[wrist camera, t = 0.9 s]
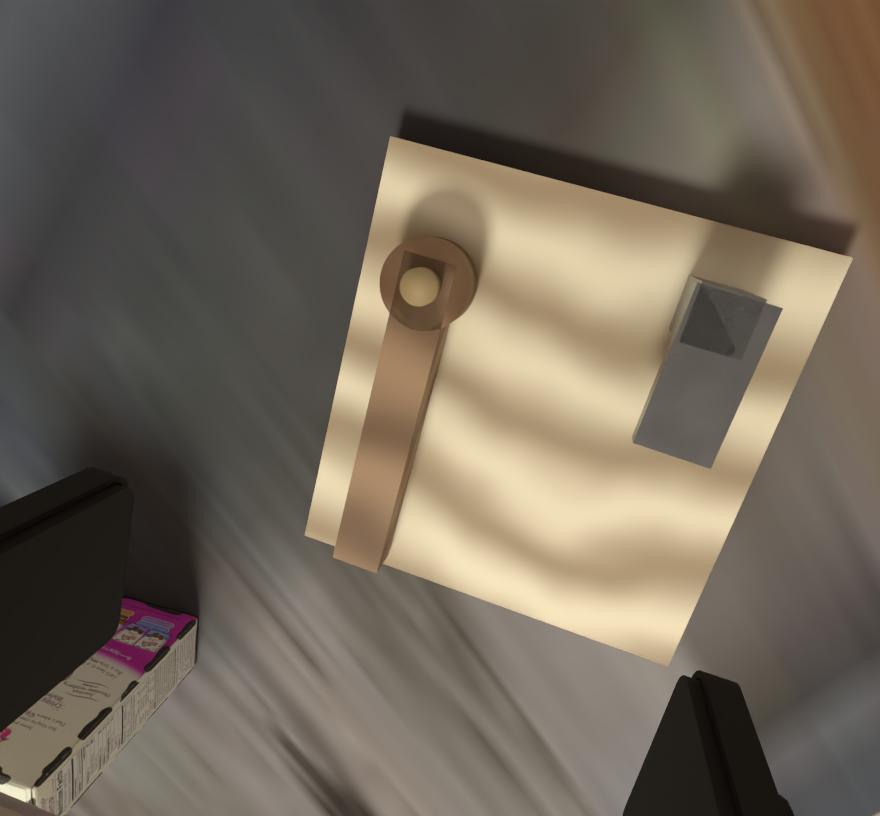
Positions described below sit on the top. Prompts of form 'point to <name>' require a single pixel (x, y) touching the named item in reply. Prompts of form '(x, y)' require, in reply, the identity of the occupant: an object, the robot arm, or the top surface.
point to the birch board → (565, 396)
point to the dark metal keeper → (705, 370)
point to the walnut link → (402, 388)
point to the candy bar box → (96, 708)
